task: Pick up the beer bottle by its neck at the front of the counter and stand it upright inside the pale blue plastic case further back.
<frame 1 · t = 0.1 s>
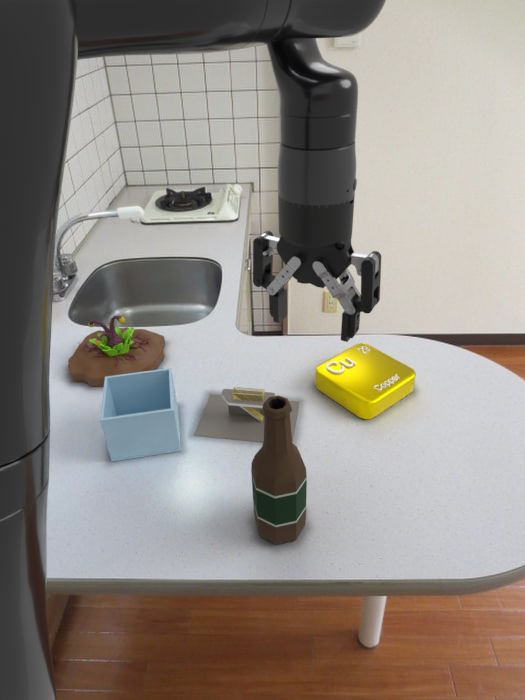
hand: (313, 328, 61), 34 cm above the table, tool pointing down, fingers open, 8 cm apart
platform: (248, 418, 99), on the table
element tile: (363, 388, 105), on the table
beer bottle: (280, 525, 79), on the table
case: (146, 432, 97), on the table
plant: (119, 360, 116), on the table
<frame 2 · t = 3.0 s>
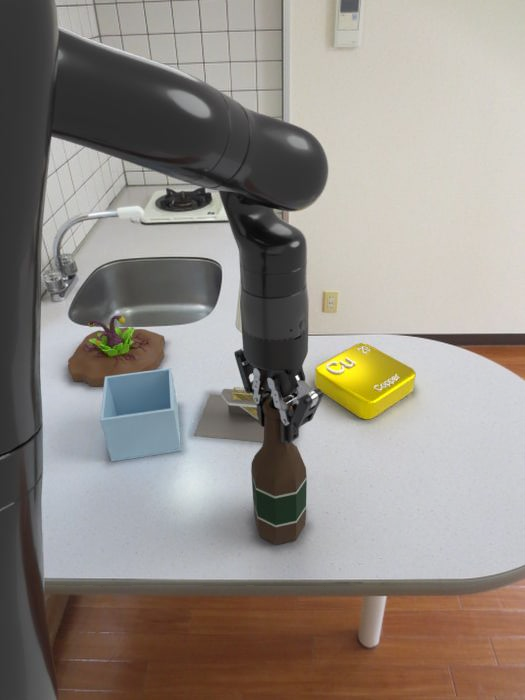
hand: (277, 431, 68), 19 cm above the table, tool pointing down, fingers closed on beer bottle, 4 cm apart
beer bottle: (280, 525, 79), on the table, touching gripper
everything else where it was.
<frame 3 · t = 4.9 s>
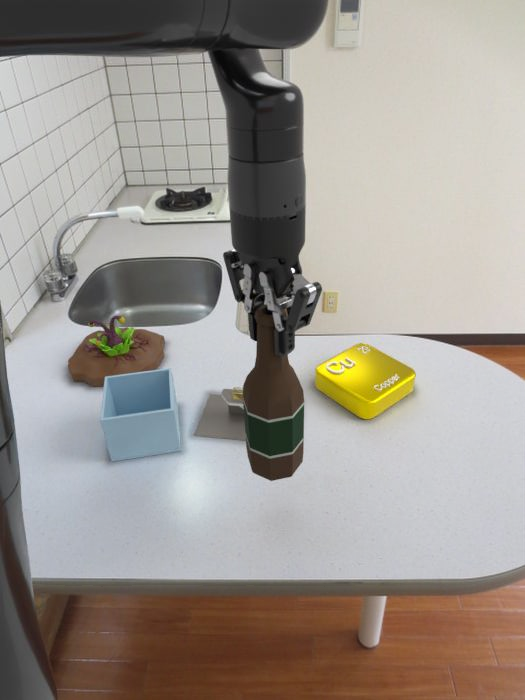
hand: (271, 345, 61), 32 cm above the table, tool pointing down, fingers closed on beer bottle, 4 cm apart
beer bottle: (275, 461, 72), point 13 cm above the table, touching gripper
everything else where it was.
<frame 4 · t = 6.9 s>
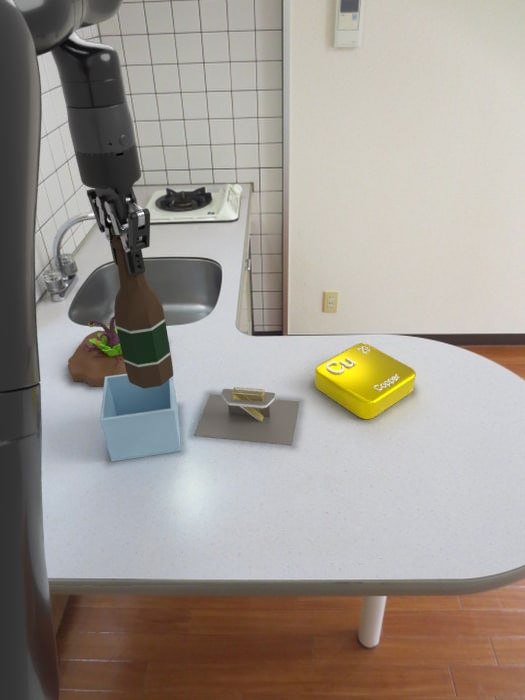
hand: (129, 268, 74), 35 cm above the table, tool pointing down, fingers closed on beer bottle, 4 cm apart
beer bottle: (151, 375, 86), point 15 cm above the table, touching gripper
everything else where it was.
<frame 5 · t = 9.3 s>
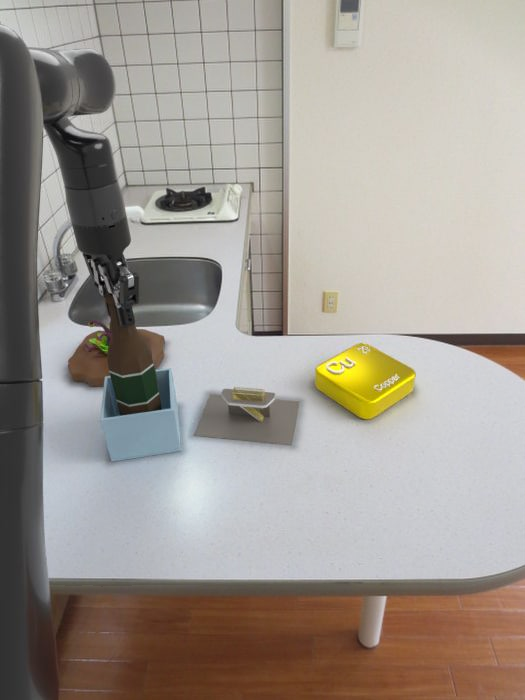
hand: (121, 319, 83), 24 cm above the table, tool pointing down, fingers closed on beer bottle, 4 cm apart
beer bottle: (142, 412, 94), point 5 cm above the table, touching gripper
everything else where it was.
when the fingers open (20 cm above the table, at t = 11.0 s): beer bottle stays where it is, resting on case.
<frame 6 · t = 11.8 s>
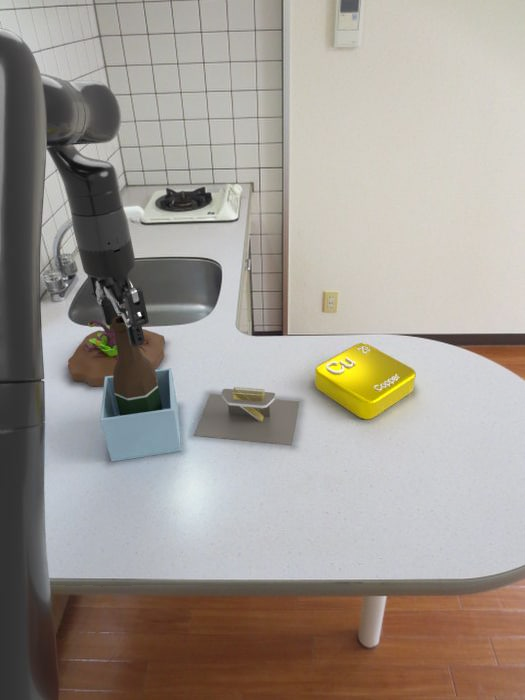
hand: (124, 333, 84), 22 cm above the table, tool pointing down, fingers open, 8 cm apart
beer bottle: (146, 431, 96), resting on case
everything else where it was.
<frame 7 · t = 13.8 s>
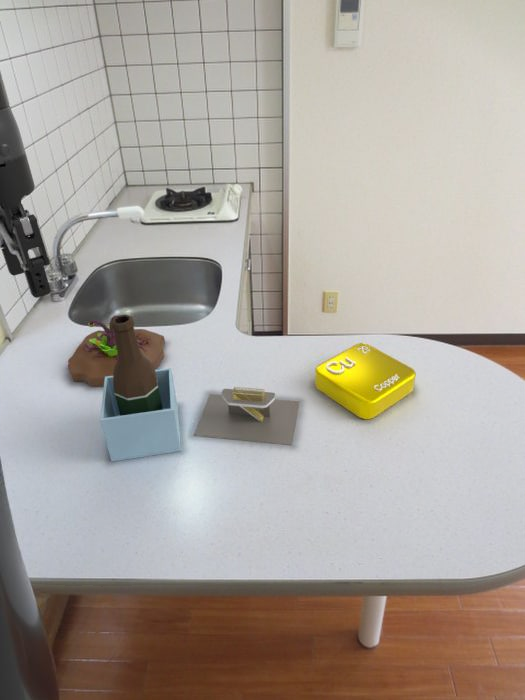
hand: (30, 283, 68), 36 cm above the table, tool pointing down, fingers open, 8 cm apart
nothing on the table moved.
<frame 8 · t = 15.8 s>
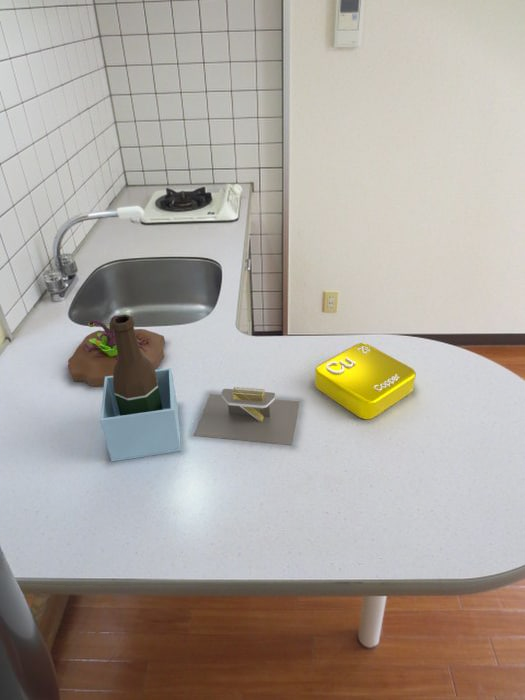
nothing on the table moved.
at the end: beer bottle inside the target area in the case (0.1 cm from its centre), point 0.4 cm above the case's base; beer bottle tilted 0°; the gripper is holding nothing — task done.
